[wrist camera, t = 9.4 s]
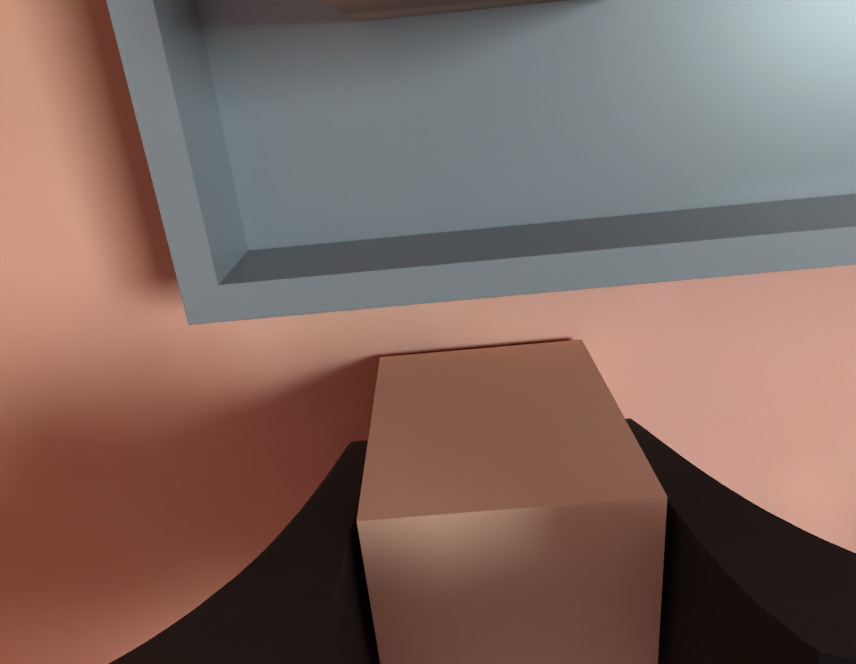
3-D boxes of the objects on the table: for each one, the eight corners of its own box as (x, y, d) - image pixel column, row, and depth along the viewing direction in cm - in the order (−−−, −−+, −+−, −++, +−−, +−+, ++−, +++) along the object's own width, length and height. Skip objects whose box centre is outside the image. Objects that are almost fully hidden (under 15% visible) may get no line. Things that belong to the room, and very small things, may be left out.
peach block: (581, 339, 13) (667, 496, 8) (581, 505, 15) (654, 713, 10) (379, 357, 13) (356, 521, 9) (401, 519, 15) (392, 731, 10)
